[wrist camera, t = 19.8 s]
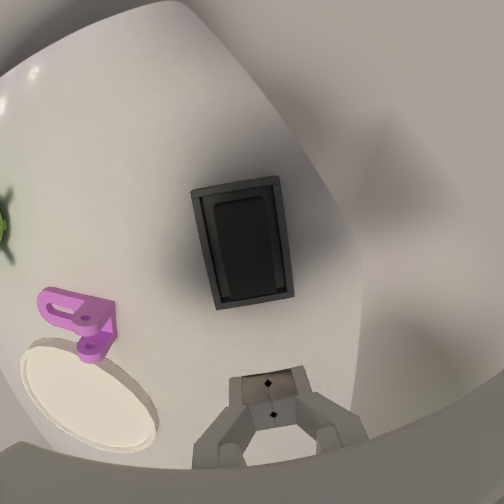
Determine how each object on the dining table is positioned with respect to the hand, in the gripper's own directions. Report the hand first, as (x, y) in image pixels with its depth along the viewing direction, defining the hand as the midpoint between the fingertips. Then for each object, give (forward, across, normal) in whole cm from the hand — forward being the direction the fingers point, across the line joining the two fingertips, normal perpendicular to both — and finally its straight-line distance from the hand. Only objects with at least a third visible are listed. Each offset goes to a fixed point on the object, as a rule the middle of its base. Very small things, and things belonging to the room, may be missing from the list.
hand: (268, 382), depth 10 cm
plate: (+22, +33, +24) cm, 46 cm away
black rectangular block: (+21, 0, 0) cm, 21 cm away
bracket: (+22, +25, +6) cm, 34 cm away
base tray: (+22, 0, 0) cm, 22 cm away
